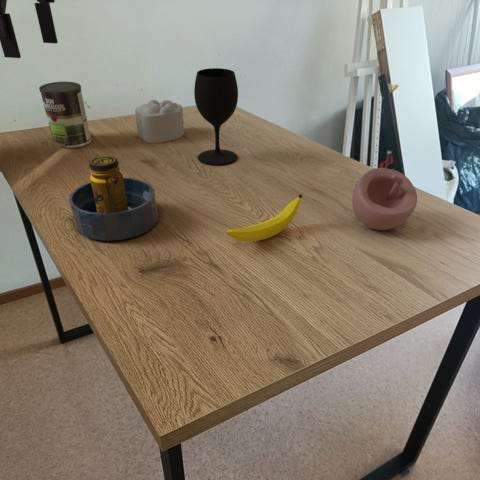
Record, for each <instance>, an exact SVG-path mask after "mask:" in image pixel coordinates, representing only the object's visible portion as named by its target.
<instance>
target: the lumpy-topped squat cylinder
mask: <svg viewBox="0 0 480 480" xmlns="http://www.w3.org/2000/svg"><path fill="white" fill-rule="evenodd" d="M134 114H135V121H136V130H137V136H138V138H139V139H142V140H144V141H145V142H146V143H148V144H161V143H167V142H170V141H171V142H172V141H174V140H178V139H180V138H182V137H183V136H184V135H185V125H184V124H185V123H184V111H183V105H181V104H179V103H176V102H173V101H171V100H168V99H165V100H162V101H160V102H159V101H158V100H156V99H151V100H149V101H148V102H147V103H144V104H141V105H140V106H138V107H136V108H135V109H134Z"/></svg>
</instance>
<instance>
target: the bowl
mask: <svg viewBox="0 0 480 480" xmlns="http://www.w3.org/2000/svg"><path fill="white" fill-rule="evenodd" d="M123 181H124V187H125V193H126V198H127V204H128V207H130V208H132V209H130V210H126V211H121V212H116V213H97V209H96V204H95V199H94V194H93V190H92V185H91V181H89V182H86V183H83V184H82V185H80V186H78V187H76V188H75V189H74V190H73V191H72V192H70V195H69V198H68V203H69V207H70V211H71V215H72V219H73V222H74V223H73V224H74V226H75V228H76V231H77V232H78V233H80V234H81V235H82V236H83V237H85V238H86V237H87V238H88V239H93V240H97V241H106V242H107V241H108V242H110V241H122V240H127V239H130V238H131V239H132V238H135V237H138V236H140V235H142V234H144V233H147V232H148V231H149V230H151V229H152V228H154V227H155V225H156V223H157V222H158V220H159V216H158V215H159V214H158V205H157V198H156V190H155V188H154V187H153V186H152V184H150V183H149V182H147V181H145V180H142V179H140V178H135V177H125V176H123Z"/></svg>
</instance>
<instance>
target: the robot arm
mask: <svg viewBox="0 0 480 480" xmlns="http://www.w3.org/2000/svg"><path fill="white" fill-rule="evenodd" d="M36 1H37V2H34V3H33V4H34V8H35V12H36V16H37V21H38V25H39V29H40V30H39V31H40V34H41V39H42V43H44V44H58V43H59V42H58V37H57V32H56V28H55V27H56V26H55V23H54V17H53V13H52V8H51V4H54V3H55V2H56V0H36ZM7 3H8V0H0V45H1V49H2V53H3V56H4V58H11V59H21V58H22V56H21V51H20V49H19V44H18V40H17V37H16V33H15V28H14V25H13V21H12V16H11V14H10V13H7Z"/></svg>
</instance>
